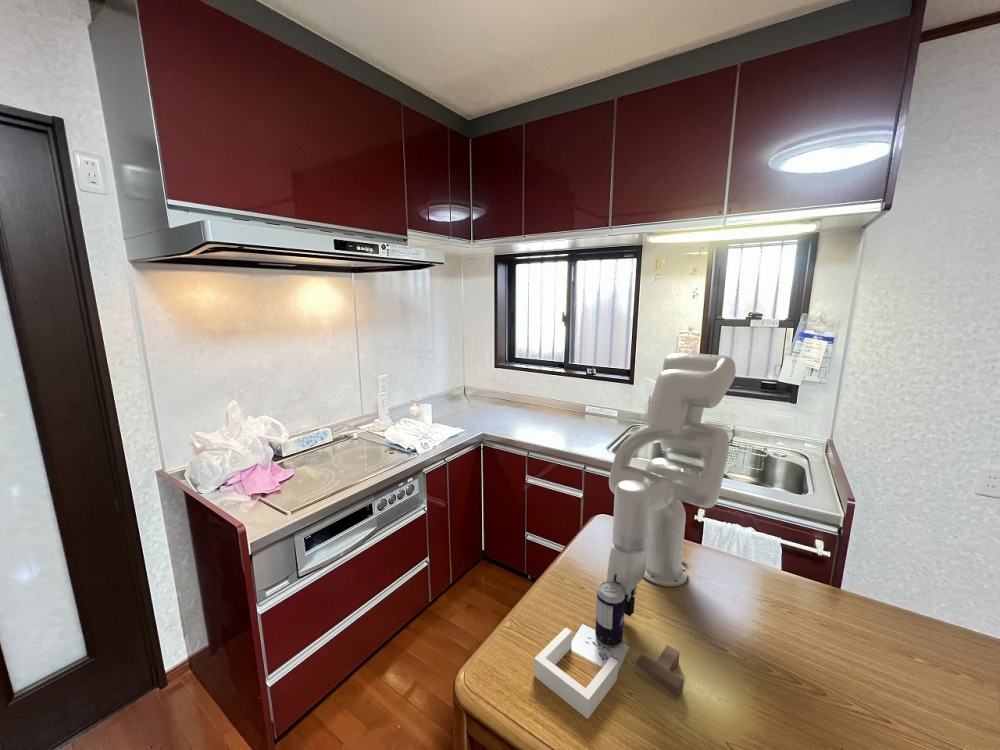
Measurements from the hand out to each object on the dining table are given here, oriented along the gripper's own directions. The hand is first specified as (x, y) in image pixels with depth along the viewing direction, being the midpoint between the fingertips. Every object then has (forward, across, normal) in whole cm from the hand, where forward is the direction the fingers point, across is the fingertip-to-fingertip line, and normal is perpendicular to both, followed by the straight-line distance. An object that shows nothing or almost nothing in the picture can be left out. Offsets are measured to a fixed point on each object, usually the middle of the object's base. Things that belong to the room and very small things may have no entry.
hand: (625, 611), depth 92 cm
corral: (+2, +20, 0) cm, 21 cm away
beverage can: (+3, +7, 0) cm, 8 cm away
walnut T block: (+2, +7, +12) cm, 14 cm away
